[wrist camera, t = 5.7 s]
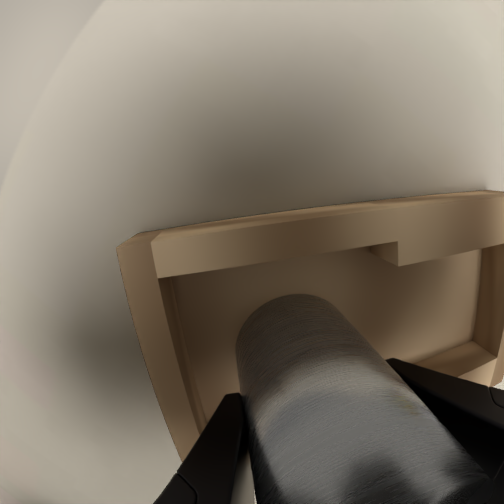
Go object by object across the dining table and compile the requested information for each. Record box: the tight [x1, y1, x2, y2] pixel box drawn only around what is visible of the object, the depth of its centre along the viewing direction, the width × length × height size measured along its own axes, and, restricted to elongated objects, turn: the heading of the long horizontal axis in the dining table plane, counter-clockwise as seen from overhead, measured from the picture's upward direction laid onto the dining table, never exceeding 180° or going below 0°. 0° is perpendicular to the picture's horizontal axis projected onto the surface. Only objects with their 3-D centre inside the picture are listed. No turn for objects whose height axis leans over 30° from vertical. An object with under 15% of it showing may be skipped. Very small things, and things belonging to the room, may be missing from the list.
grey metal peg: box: [235, 294, 494, 504], centre depth 7 cm, size 4×4×8 cm
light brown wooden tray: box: [116, 190, 504, 463], centre depth 11 cm, size 15×9×2 cm, turn 97°
